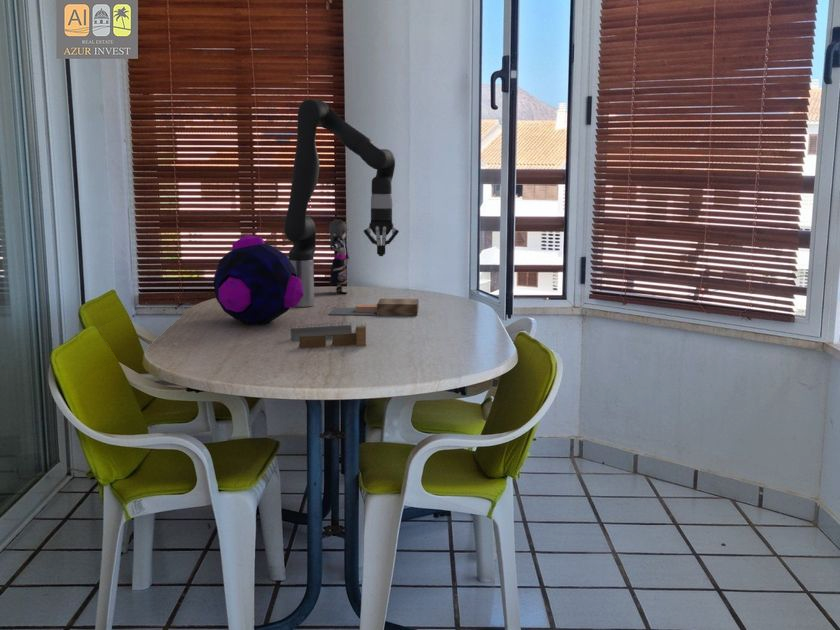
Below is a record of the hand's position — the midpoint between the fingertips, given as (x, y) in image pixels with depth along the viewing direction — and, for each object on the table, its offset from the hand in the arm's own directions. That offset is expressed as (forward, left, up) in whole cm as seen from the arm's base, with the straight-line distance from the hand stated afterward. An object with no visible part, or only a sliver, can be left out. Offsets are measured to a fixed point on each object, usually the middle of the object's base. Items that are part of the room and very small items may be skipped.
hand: (381, 255), depth 321 cm
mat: (-10, 0, -20) cm, 23 cm away
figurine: (-21, +41, -21) cm, 50 cm away
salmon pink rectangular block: (-5, 0, -20) cm, 20 cm away
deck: (+6, 0, -20) cm, 21 cm away
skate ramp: (-10, -58, -21) cm, 63 cm away
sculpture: (-40, -24, -21) cm, 51 cm away
